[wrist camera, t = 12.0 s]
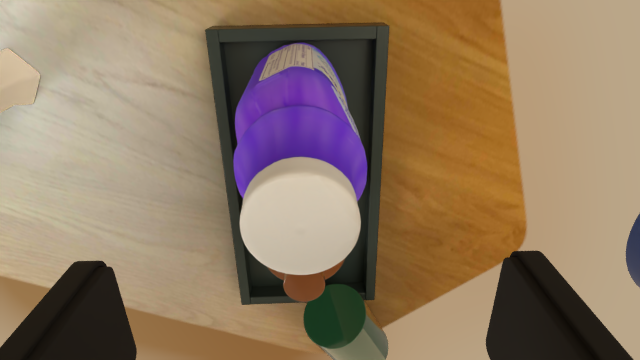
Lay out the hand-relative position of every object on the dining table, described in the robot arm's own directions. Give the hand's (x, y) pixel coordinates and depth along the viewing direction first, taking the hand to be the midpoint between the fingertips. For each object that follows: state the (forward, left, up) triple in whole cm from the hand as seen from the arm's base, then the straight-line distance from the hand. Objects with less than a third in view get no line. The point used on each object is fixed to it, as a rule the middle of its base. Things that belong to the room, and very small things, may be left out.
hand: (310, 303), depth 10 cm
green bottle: (-2, +16, -16) cm, 22 cm away
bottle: (0, 0, -21) cm, 21 cm away
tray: (0, +7, -22) cm, 23 cm away
